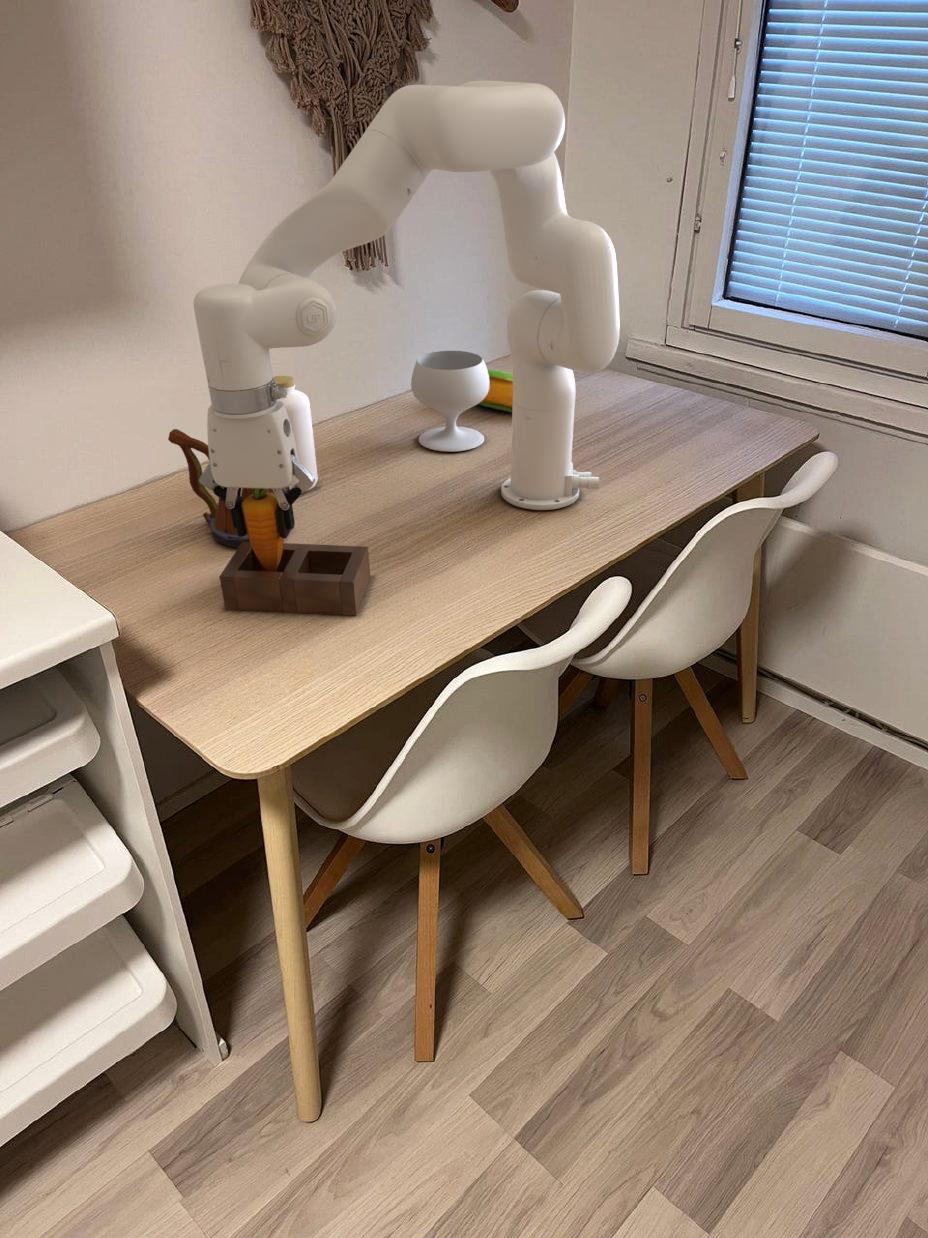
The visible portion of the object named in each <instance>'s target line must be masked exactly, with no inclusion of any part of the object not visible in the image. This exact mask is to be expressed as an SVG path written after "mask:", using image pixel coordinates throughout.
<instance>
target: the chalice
mask: <svg viewBox="0 0 928 1238" xmlns="http://www.w3.org/2000/svg"><path fill="white" fill-rule="evenodd" d="M418 357H419V358H417V359H416V362H415V364H414V367H413V370H412V372H411V373H412V374H411V380H410V388H411V391H412V394H413V396H414V398H415V399H416V400H417V401H418V402H419V403H421V404H422V405H424V406H425V407H427V408H430V409H432V410H434V411H436V412H438V413H439V414H441V415H442V416H443V418H444V420H445V426H439V427H435V428H431V429H428V430H426V431H424V432H423V433H422V434H421V435H420V436H418V443H419V444H420V445H421V446H423V447H424V448H426V449H428V450H432V451H433V450H434V451H438V452H463V451H467V450H472V449H474V448H478V447H479V446H481V445H482V444H483V443H484V442H485V436H484V435H483V434H482V433H481V432H480V431H478V430H476V429H473V428H470V427H466V426H458V425H457V420H458V418H459V416H460V415H461V414H462V413H464V412H466V411H467V410H469V409H471V408H473V407H475V406H477V405H479V404H478V403H480V402H481V401H482V400H483V399H484V398H485V397H486V395H487V394H488V391H489V382H490V381H489V374H488V370H487V369H488V368H487V365H486V363H485V360H484V359H483V358H482V356H481V355H479V354H477V353H474V352H470V351H464V350H439V351H432V352H429V353H425V354H423V355H421V356H418Z"/></svg>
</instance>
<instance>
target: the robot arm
mask: <svg viewBox="0 0 928 1238" xmlns="http://www.w3.org/2000/svg"><path fill="white" fill-rule="evenodd" d="M565 127H566V115H565V110H564V106H563V104H562V102H561V99H560V98H559V96H558V95H557V93H555V92H554V91H553V89H551V88H549V87H548V86H546V85H544V84H541V83H536V82H525V81H524V82H523V81H522V82H521V81H504V80H472V81H468V82H464V83H462V84H459V85H458V86H456V85H438V84H437V85H436V84H410V85H405V86H402V87H400V88H399V89H397V90H395V91H394V92H393V93H391V95H390V96H389V97H388V98H387V100H386V101H385V102H384V103H383V105H382V106H381V108H380V109H379V111H378V112H377V114H376V115H375V117H373V119H372V120H371V122H370V124H369V125H368V126H367V128H366V129H365V131H364V133H362V135H361V137H360V138H359V139H358V141H357V143H356V144H355V145H354V147H353V148H352V150H351V151H350V153H349V154H348V156H347V157H346V159H345V160H344V161H343V162H342V164H341V165H340V167H339V168H338V169H337V170H336V172H335V174H334V176H333V177H332V178H331V179H330V181H329V182H328V183H327V184H326V185H325V186H324V187H323V188H321V189H319V190H318V191H317V192H315V193H314V194H313V195H311V196H310V197H309V198H308V199H307V200H305V201H304V202H303V203H302V204H300V205H299V206H298V207H297V208H296V209H294V210H293V211H292V212H290V213H289V214H288V215H286V216H285V217H284V218H283V219H282V220H281V221H280V222H279V223H278V224H277V225H276V226H275V227H274V228H273V229H272V230H271V231H270V233H268V235H267V236H266V237H265V238H264V240H263V242H262V243H261V244H260V246H259V247H258V249H257V250H256V251H255V253H254V254H253V256H252V257H251V259H250V260H249V262H248V263H247V264H246V266H245V268H244V270H243V271H242V274H241V276H240V278H239V280H238V283H220V284H215V285H209V286H206V287H204V288H202V289H200V290H199V291H198V292H197V293H196V294H195V296H194V298H193V311H194V316H195V317H194V318H195V322H196V327H197V333H198V338H199V342H200V350H201V355H202V359H203V364H204V371H205V376H206V381H207V386H208V387H207V388H208V393H209V398H210V406H209V407H208V409H207V416H206V417H207V418H206V419H207V422H206V425H207V426H206V427H207V428H206V429H207V445H208V449H209V458H210V461H209V463H208V464H207V465H206V467H205V469H204V470H203V471H202V475H201V477H200V478H199V482H200V483H201V484H202V485H203V486H205V488H206V489H208V490H210V491H211V492H213V494H214V495H215V496H216V497H217V498H218V499H219V498H220V499H221V500H223V501H224V502H225V505H226V507H227V508H229V509H230V510H231V515H232V521H233V526H234V528H237V533H238V537H243V536H245V534H246V533H247V530H246V526H245V522H244V517H243V512H242V507H241V505H242V502H243V501H244V500H245V499H242V497H241V495H242V488H260V489H270V490H271V491H272V492H273V493H272V494H274V495H275V497H276V499H277V501H278V504H279V508H278V509H277V519H278V525H279V532H280V537H282V538H284V539H287V538H288V536H289V534H290V533H291V530H293V529H294V528H295V515H294V509H293V504H294V503H295V502H296V501H297V500H298V499H299V498H300V496H301V495H302V494H304V493H305V492H308V491H309V490H308V489H309V488H310V487H312V485H313V484H314V482H315V478H314V477H313V475H312V474H311V473H310V472H309V471H308V470H307V469H306V468H305V467H304V466H303V465H302V464H301V463H300V462H299V458H298V453H297V448H296V443H295V439H294V435H293V431H292V427H291V424H290V420H289V417H288V414H287V411H286V408H285V406H284V403H283V402H281V401H277V399H280V398H286V396H287V390H286V387H280V386H279V385H276V383H275V378H273V377H274V375H273V369H272V361H271V354H270V350H271V349H282V348H284V349H285V348H303V347H310V346H313V345H315V344H318V343H320V342H321V341H323V340H325V339H326V338H327V337H328V336H329V335H330V334H331V332H332V331H333V329H334V328H335V324H336V321H337V306H336V303H335V300H334V298H333V296H332V295H331V293H330V292H329V291H328V289H326V288H325V287H324V286H323V285H322V284H320V283H318V282H316V281H314V280H312V279H310V278H311V277H313V275H314V274H315V273H316V271H317V270H318V269H320V268H321V267H322V266H323V265H324V264H325V263H327V262H328V261H329V260H331V259H332V258H334V257H336V256H337V255H340V254H341V253H343V252H345V251H349V250H351V249H353V248H358V247H360V246H363V245H366V244H368V243H371V242H373V241H376V240H378V239H380V238H382V237H384V236H385V235H386V234H388V233H389V232H390V231H391V229H392V228H393V227H394V225H395V224H396V222H397V221H398V219H399V218H400V216H401V215H402V213H403V212H404V211H405V209H406V207H407V206H408V204H409V203H410V202H411V201H412V199H413V198H414V196H415V194H416V193H417V192H418V190H419V188H420V187H421V186H422V184H424V182H425V180H426V179H427V177H428V176H429V174H430V173H431V172H432V171H434V170H438V171H445V172H453V173H475V172H476V173H477V172H478V173H479V172H488V171H489V172H490V175H491V177H493V179H494V183H495V184H496V188H497V192H498V196H499V197H498V198H499V201H500V203H499V204H500V209H501V215H502V223H503V231H504V238H505V244H506V245H505V246H506V253H507V260H508V265H509V269H510V271H511V274H512V275H513V277H514V278H515V280H517V281H519V282H521V283H522V284H524V285H527V286H530V287H533V288H536V290H530V291H527V292H525V293H524V294H522V295H521V296H520V297H518V298H516V300H515V301H514V303H513V304H512V306H511V308H510V310H509V313H508V317H507V323H506V332H507V334H506V335H507V341H508V348H509V353H510V360H511V368H512V374H513V402H512V409H511V410H512V412H511V453H510V454H511V455H510V456H511V459H510V460H511V461H510V462H511V463H510V477H509V478H507V479H506V480H505V481H504V482H503V483H502V484H501V486H500V487H501V489H500V490H501V491H500V495H501V497H502V498H503V500H504V501H505V502H507V503H508V504H510V505H513V506H515V507H517V508H521V509H526V510H532V511H550V510H558V509H563V508H566V507H568V506H570V505H572V504H574V503H576V502H577V500H578V499H579V497H580V489H588V490H599V489H600V488H599V487H600V476H592V472H591V471H582V472H581V471H577V469H575V470H574V462H572V457H573V456H572V455H573V440H574V438H573V437H574V422H575V408H576V407H575V404H576V380H575V375H574V372H576V373H581V374H595V373H599V372H601V371H602V370H604V369H605V368H606V367H608V366H609V364H611V362H612V360H613V359H614V357H615V354H616V352H617V351H618V345H619V342H620V329H621V321H620V318H621V317H620V301H619V283H618V266H617V257H616V250H615V248H614V244H613V242H612V240H611V238H610V236H609V235H608V233H607V232H606V231H605V230H604V228H602V227H601V226H600V225H598V224H596V223H594V222H592V221H588V220H584V219H578V218H574V217H571V216H570V215H569V214H568V211H567V206H566V201H565V193H564V186H563V180H562V173H561V168H560V164H559V161H558V158H557V156H556V153H555V152H556V150H557V149H558V147H559V146H560V144H561V142H562V140H563V137H564V133H565ZM293 475H295V477H296V478H297V479H298V480H299V483H297V484H295V485H294V486H293V488H292V489H291V487H290V485H291V483H292V476H293ZM307 490H308V491H307Z"/></svg>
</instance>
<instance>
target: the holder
mask: <svg viewBox="0 0 928 1238" xmlns="http://www.w3.org/2000/svg"><path fill="white" fill-rule="evenodd" d="M370 566H371V565H370V554H369V546H363V545H362V546H361V545H338V544H335V545H334V544H314V543H312V544H310V543H309V544H308V543H291V542H290V543H288V542H283V553H282V557H281V560H280V563H279V566H278V568H277V571H276V572H267V571H266V570H265V568H264V567H263V566H262V564H261V563H260V561H259V560H258V558H257V556H256V555H255V552H254V550H253V548H252V545H251V543H250V542H242V543H241V545H240V546H239V548H236V550H235V552H234V554H233V555H232V556H231V558H230V560H229V561H228V563H227V564H226V566H225V567H224V569H223V570H222V572H221V573H220V575H219V582H220V588H221V592H222V593H221V594H222V600H223V605H224V609H225V610H226V611H247V612H248V611H250V612H251V611H252V612H268V613H269V612H270V613H291V614H292V613H293V614H312V615H314V614H315V615H336V616H353V617H354V616H357V615H358V613H359V610H360V607H361V605H362V601H363V600H364V596H365V595H366V594H365V593H366V591H367V588H368V586H369V583H370V580H371V569H370V568H371V567H370Z"/></svg>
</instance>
